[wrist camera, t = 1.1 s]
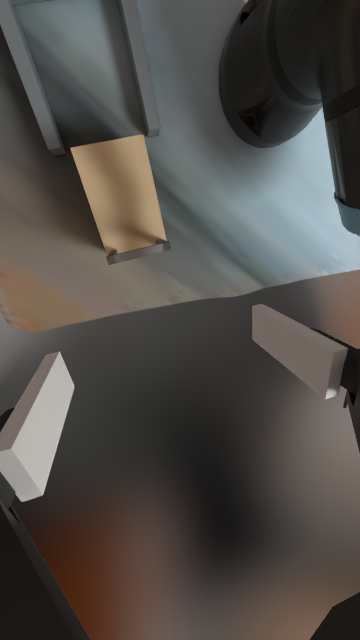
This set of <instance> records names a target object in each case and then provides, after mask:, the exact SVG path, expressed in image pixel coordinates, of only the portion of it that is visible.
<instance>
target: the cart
mask: <svg viewBox="0 0 360 640" xmlns="http://www.w3.org/2000/svg"><path fill="white" fill-rule="evenodd" d="M70 149H71V152H72V154H73V157H74V160H75V163H76V166H77V169H78V173H79V176H80V179H81V182H82V184H83V187H84V189H85V192H86V195H87V198H88V201H89V204H90V207H91V210H92V213H93V216H94V219H95V222H96V224H97V227H98V230H99V233H100V236H101V240H102V243H103V246H104V249H105V251H106V254H107V257H106V258H107V261H108V264H109V265H110V264H114V263H118V262H122V261H127V260H131V259H135V258H139V257H143V256H147V255H151V254H155V253H159V252H163V251H167V250H171V248H170V244H169V242H168V241H167V240H166V236H165V231H164V226H163V222H162V217H161V213H160V208H159V204H158V199H157V195H156V190H155V186H154V181H153V177H152V172H151V167H150V163H149V158H148V154H147V149H146V145H145V140H144V136H143V134H142V135H137V136H131V137H126V138H121V139H115V140H110V141H104V142H99V143H94V144H88V145H83V146H78V147H72V148H70Z"/></svg>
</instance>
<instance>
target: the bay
mask: <svg viewBox="0 0 360 640" xmlns="http://www.w3.org/2000/svg"><path fill="white" fill-rule="evenodd" d="M41 1H49V0H0V25H1V28H2V31H3V33H4V36H5V38H6V41H7V44H8V46H9V49H10V51H11V54H12V57H13V59H14V62H15V64H16V67H17V70H18V72H19V75H20V77H21V80H22V83H23V85H24V88H25V90H26V93H27V96H28V98H29V101H30V103H31V106H32V109H33V111H34V114H35V116H36V119H37V122H38V124H39V127H40V129H41V132H42V135H43V137H44V140H45V142H46V145H47V147H48V150H49V151H50V152H51V153H52V154H53V155H61V154H66V151H65V148H64V146H63V143H62V140H61V137H60V134H59V132H58V129H57V126H56V123H55V121H54V118H53V115H52V112H51V109H50V107H49V104H48V101H47V98H46V95H45V93H44V90H43V87H42V84H41V81H40V79H39V76H38V73H37V70H36V67H35V65H34V62H33V59H32V56H31V54H30V51H29V48H28V45H27V42H26V40H25V37H24V34H23V31H22V28H21V26H20V23H19V20H18V17H17V14H16V12H15V9H14V6H13V5H17V4H25V3H33V2H41ZM118 5H119V9H120V14H121V18H122V23H123V28H124V32H125V37H126V41H127V46H128V50H129V55H130V59H131V64H132V69H133V73H134V78H135V82H136V87H137V91H138V96H139V100H140V105H141V109H142V114H143V119H144V123H145V128H146V132H147V137H152V136H157V135H159V132H160V128H161V127H160V122H159V117H158V112H157V107H156V102H155V97H154V92H153V87H152V81H151V76H150V71H149V66H148V61H147V56H146V51H145V46H144V41H143V36H142V31H141V25H140V20H139V15H138V10H137V5H136V0H118Z"/></svg>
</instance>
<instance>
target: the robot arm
mask: <svg viewBox="0 0 360 640" xmlns="http://www.w3.org/2000/svg"><path fill="white" fill-rule="evenodd" d="M219 90H220V97H221V102H222V106H223V110H224V113H225V115H226V118H227V120H228V122H229V124H230V125H231V127H232V128H233V130H234V131H235V132H236V134H237V135H238V136H239V137H240V138H241V139H242V140H244V141H245V142H247V143H248V144H250V145H253V146H256V147H261V148H269V147H274V146H277V145H280V144H282V143H284V142H286V141H287V140H289V139H291V138H293V137H294V136H296V135H297V134H298V133H300V132H301V131H302V130H303V129H304V128H305V127H306V126H307V125H308V124H309V122H310V121H311V120H312V119H313V117H314V116H315V115H316V114H317V113H318V112H319V110H320V109H321V108H322V107H323V113H324V119H325V128H326V134H327V140H328V147H329V153H330V159H331V166H332V172H333V179H334V185H335V192H334V198H335V201H336V203H337V204H338V208H339V212H340V216H341V221H342V224H343V226H344V227H345V228H346V229H347V230H348V231H349V232H351V233H353V234H357V235H358V236H360V0H249V1H248V2H247V3H246V4H245V6H244V7H243V8H242V10H241V11H240V13H239V15H238V17H237V18H236V20H235V22H234V24H233V26H232V28H231V30H230V32H229V34H228V36H227V39H226V41H225V44H224V47H223V51H222V55H221V60H220V68H219ZM253 340H254V341H255V342H256V343H258V344H259V345H260V346H261V347H262V348H264V349H265V350H266V351H267V352H269V353H270V354H271V355H272V356H273V357H275V358H276V359H277V360H278V361H279V362H281V363H282V364H283V365H284V366H286V367H287V368H288V369H289V370H290V371H292V372H293V373H294V374H295V375H296V376H298V377H299V378H300V379H301V380H303V381H304V382H305V383H306V384H307V385H309V386H310V387H311V388H312V389H313V390H315V391H316V392H317V393H318V394H320V395H321V396H322V397H323V398H324V399H328V398H331V397H334V396H336V395H338V394H339V389H340V385H341V386H343V387H344V388H345V389H347V393H346V396H345V401H344V406H343V407H344V408H346V406H347V405H348V406H349V411H350V414H351V419H352V423H353V427H354V431H355V435H356V439H357V443H358V447H359V452H360V349H356V348H354V347H352V346H350V345H348V344H346V343H344V342H342V341H340V340H338V339H334V337H332V336H330V335H328V334H326V333H324V332H322V331H320V330H316V329H313V328H308V327H306V326H304V325H302V324H300V323H298V322H296V321H294V320H292V319H290V318H288V317H286V316H285V315H283V314H281V313H279V312H277V311H275V310H273V309H271V308H269V307H267V306H265V305H263V304H260V305H256V306H253ZM73 390H74V384H73V382H72V380H71V377H70V375H69V373H68V371H67V368H66V366H65V363H64V361H63V359H62V356H61V354H60V352H56V353H53V354H48V355H46V356H45V358H44V360H43V361H42V363H41V365H40V366H39V368H38V370H37V371H36V373H35V375H34V376H33V378H32V380H31V381H30V383H29V385H28V387H27V388H26V390H25V392H24V393H23V395H22V397H21V398H20V400H19V402H18V403H17V405H16V407H15V408H12V409H8V410H7V411H6V412H5V413H4V414H3V415H1V417H0V640H91V639H90V638H89V636H88V635H87V633H86V631H85V629H84V628H83V626H82V625H81V622H80V621H79V619H78V617H77V616H76V614H75V612H74V611H73V609H72V607H71V605H70V604H69V602H68V600H67V599H66V597H65V595H64V594H63V592H62V590H61V589H60V587H59V585H58V583H57V582H56V580H55V578H54V577H53V575H52V573H51V571H50V570H49V568H48V566H47V565H46V563H45V561H44V560H43V558H42V556H41V555H40V553H39V551H38V549H37V548H36V546H35V544H34V543H33V541H32V539H31V537H30V536H29V534H28V532H27V531H26V529H25V527H24V526H23V524H22V522H21V521H20V519H19V517H18V516H17V514H16V512H15V510H14V509H13V508H12V506H11V503H12V500H13V498H14V495H15V494H16V495H17V496H18V497H19V499H20V500H21V501H22V502H23V501H26V500H30V499H32V498H35V497H38V496H41V495H43V493H44V490H45V487H46V483H47V480H48V476H49V473H50V469H51V466H52V462H53V459H54V456H55V452H56V449H57V445H58V442H59V438H60V435H61V431H62V428H63V425H64V421H65V417H66V414H67V411H68V408H69V404H70V400H71V397H72V394H73ZM310 640H360V592H359V593H358V594H356V595H354V596H352V597H350V598H348V599H346V600H345V601H343V602H341V603H339V604H337V605H335V606H333V607H332V609H331V610H330V612H329V613H328V614H327V616H326V617H325V619H324V620H323V621H322V623H321V624H320V626H319V627H318V629H317V630H316V632H315V633H314V635H313V636H312V637H311V639H310Z"/></svg>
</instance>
